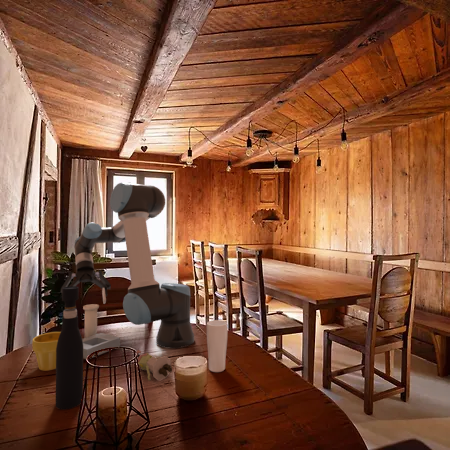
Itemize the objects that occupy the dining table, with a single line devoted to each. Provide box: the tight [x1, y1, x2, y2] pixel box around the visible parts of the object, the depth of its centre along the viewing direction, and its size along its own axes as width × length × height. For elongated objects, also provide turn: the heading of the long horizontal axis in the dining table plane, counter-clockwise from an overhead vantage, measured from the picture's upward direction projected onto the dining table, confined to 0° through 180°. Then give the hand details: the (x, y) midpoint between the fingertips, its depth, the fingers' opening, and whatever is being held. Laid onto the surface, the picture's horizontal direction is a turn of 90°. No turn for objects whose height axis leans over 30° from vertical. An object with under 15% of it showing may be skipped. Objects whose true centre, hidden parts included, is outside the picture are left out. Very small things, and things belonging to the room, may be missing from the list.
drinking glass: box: [206, 319, 228, 373], centre depth 105 cm, size 7×7×15 cm
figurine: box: [135, 349, 173, 382], centre depth 101 cm, size 9×7×15 cm
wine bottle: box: [55, 285, 84, 411], centre depth 84 cm, size 6×6×30 cm
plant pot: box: [31, 331, 61, 372], centre depth 106 cm, size 10×10×10 cm
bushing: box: [82, 303, 100, 338], centre depth 131 cm, size 6×6×14 cm
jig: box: [82, 332, 121, 360], centre depth 121 cm, size 11×15×4 cm
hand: (87, 303), depth 138 cm, fingers open, 13 cm apart
